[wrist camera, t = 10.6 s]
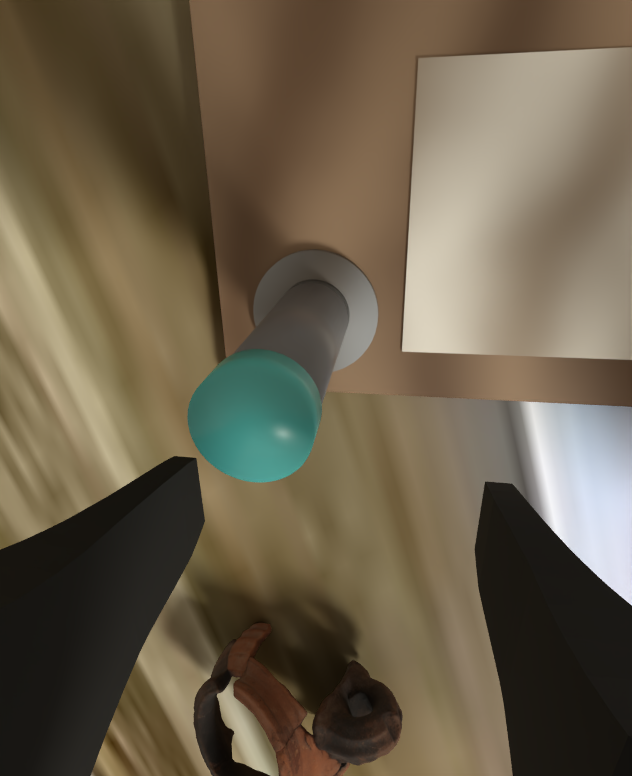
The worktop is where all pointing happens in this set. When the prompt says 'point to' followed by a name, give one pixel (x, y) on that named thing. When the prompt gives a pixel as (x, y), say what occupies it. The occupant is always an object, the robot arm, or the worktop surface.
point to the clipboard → (429, 186)
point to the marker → (272, 387)
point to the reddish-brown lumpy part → (295, 716)
